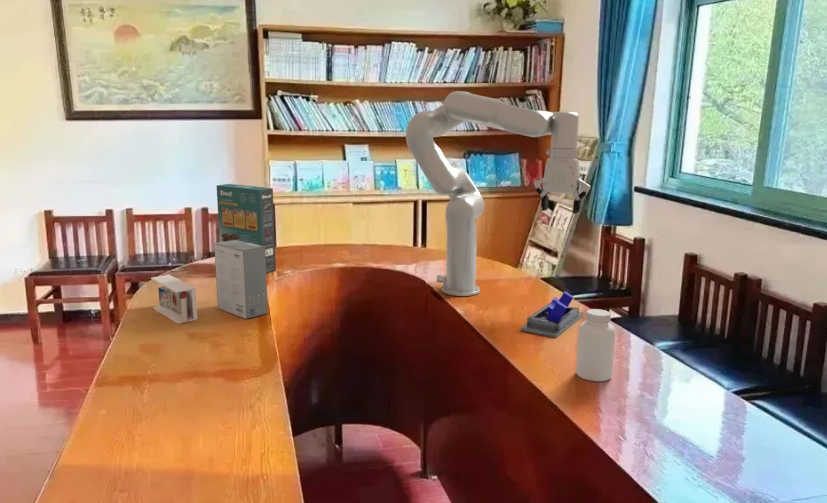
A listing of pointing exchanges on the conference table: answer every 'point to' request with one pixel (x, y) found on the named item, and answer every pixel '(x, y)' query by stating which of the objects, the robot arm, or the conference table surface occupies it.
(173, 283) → the cigarette display
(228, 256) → the hard drive box
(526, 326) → the grey rectangular tray
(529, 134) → the robot arm
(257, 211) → the cake mix box
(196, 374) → the conference table surface
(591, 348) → the pill bottle
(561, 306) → the cable clip
